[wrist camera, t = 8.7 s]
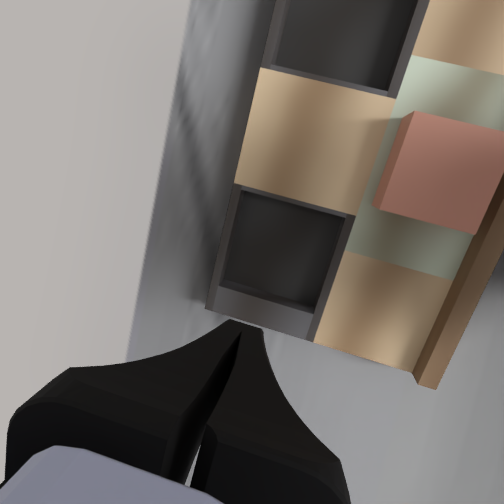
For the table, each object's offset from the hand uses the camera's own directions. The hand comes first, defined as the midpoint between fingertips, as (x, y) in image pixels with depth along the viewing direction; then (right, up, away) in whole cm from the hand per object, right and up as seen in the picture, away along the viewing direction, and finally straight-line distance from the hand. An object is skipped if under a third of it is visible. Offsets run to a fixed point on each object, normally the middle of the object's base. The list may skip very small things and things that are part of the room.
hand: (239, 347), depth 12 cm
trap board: (+7, +9, +6) cm, 13 cm away
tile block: (+10, +7, +5) cm, 13 cm away
